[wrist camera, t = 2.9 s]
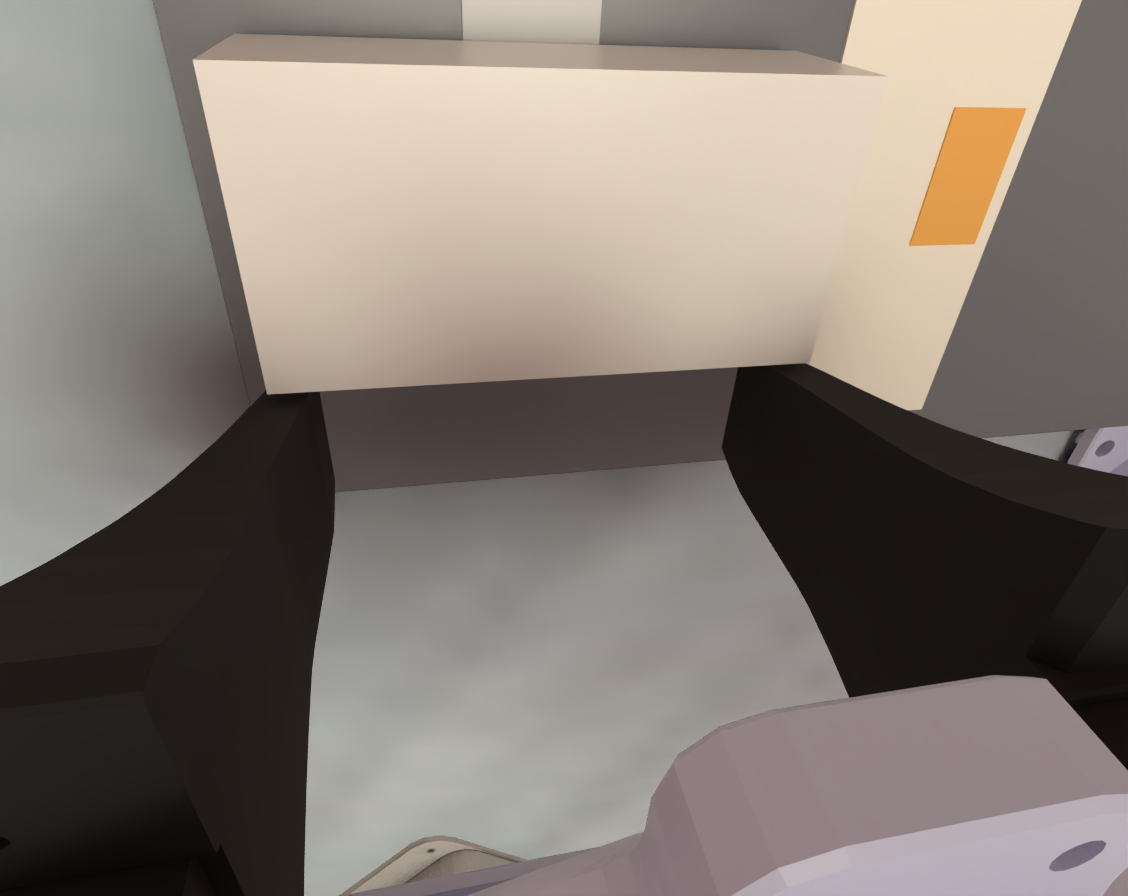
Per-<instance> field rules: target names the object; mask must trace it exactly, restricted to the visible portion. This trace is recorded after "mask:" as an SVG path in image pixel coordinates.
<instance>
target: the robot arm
mask: <svg viewBox="0 0 1128 896" xmlns="http://www.w3.org/2000/svg"><path fill="white" fill-rule="evenodd" d="M721 448H722V450H723V453H724V456H725V458H726V461H727V463H728V466H729V468H730V471H731V473H732V476H733V478H734V480H735V482H736V485H737V487H738V489H739V491H740V493H741V495H742V497H743V498H744V500H745V502H746V504H747V505H748V507H749V509H750V510H751V512H752V514H753V515H754V517H755V518H756V520H757V522H758V523H759V525H760V527H761V528H762V530H763V532H764V533H765V535H766V536H767V538H768V540H769V541H770V543H771V544H772V546H773V548H774V549H775V551H776V552H777V554H778V556H779V557H780V559H781V561H782V562H783V564H784V565H785V567H786V569H787V570H788V572H789V573H790V575H791V577H792V578H793V580H794V581H795V583H796V585H797V587H798V588H799V590H800V592H801V594H802V595H803V597H804V599H805V601H806V603H807V604H808V606H809V608H810V611H811V613H812V615H813V617H814V619H815V621H816V623H817V625H818V628H819V630H820V632H821V634H822V636H823V638H824V640H825V643H826V645H827V647H828V649H829V651H830V653H831V656H832V658H833V660H834V663H835V665H836V667H837V670H838V672H839V674H840V677H841V679H842V681H843V684H844V686H845V688H846V691H847V693H848V695H849V698H845V699H838V700H832V701H826V702H819V703H813V704H807V705H801V706H794V707H788V708H782V709H775V710H770V711H767V712H764V713H761V714H758V715H754V716H751V717H748V718H745V719H742V720H739V721H735V722H732V723H729V724H726V725H723V726H720V727H718V728H717V729H715V730H714V731H712V732H711V733H709V734H708V735H706V736H705V737H703V738H702V739H700V740H699V741H697V742H696V743H695V744H693V745H692V746H690V747H689V748H687V749H686V750H684V751H683V752H681V753H680V754H678V756H677V757H676V759H675V760H674V762H673V764H672V765H671V767H670V768H669V770H668V771H667V773H666V775H665V776H664V778H663V779H662V781H661V782H660V784H659V786H658V787H657V789H656V791H655V792H654V794H653V796H652V798H651V803H650V808H649V812H648V817H647V822H646V826H645V831H644V832H641V833H638V834H635V835H632V836H629V837H626V838H624V839H621V840H618V841H615V842H613V843H610V844H607V845H604V846H602V847H597V848H592V849H586V850H581V851H576V852H570V853H565V854H560V855H554V856H549V857H544V858H538V859H533V860H528V861H522V862H517V863H512V864H506V865H501V866H496V867H490V868H485V869H480V870H474V871H469V872H464V873H458V874H453V875H448V876H442V877H437V878H432V879H426V880H421V881H416V882H410V883H405V884H400V885H394V886H389V887H384V888H378V889H373V890H368V891H362V892H357V893H352V894H346V895H341V896H1128V426H1119V427H1107V428H1095V429H1085V431H1084V433H1083V435H1082V437H1081V438H1080V440H1079V442H1078V444H1077V446H1076V447H1075V449H1074V451H1073V453H1072V455H1071V456H1070V458H1069V460H1068V462H1067V463H1063V462H1060V461H1056V460H1052V459H1048V458H1045V457H1041V456H1037V455H1034V454H1030V453H1026V452H1022V451H1019V450H1016V449H1012V448H1009V447H1006V446H1002V445H999V444H996V443H993V442H990V441H987V440H984V439H981V438H978V437H975V436H972V435H969V434H966V433H964V432H961V431H958V430H955V429H952V428H950V427H947V426H944V425H942V424H939V423H936V422H934V421H931V420H929V419H927V418H924V417H922V416H920V415H917V414H915V413H912V412H910V411H908V410H905V409H903V408H901V407H898V406H896V405H894V404H892V403H889V402H887V401H885V400H883V399H880V398H878V397H876V396H874V395H872V394H870V393H868V392H865V391H863V390H861V389H859V388H857V387H855V386H853V385H851V384H849V383H847V382H844V381H842V380H840V379H838V378H836V377H834V376H832V375H830V374H828V373H826V372H824V371H821V370H819V369H817V368H815V367H813V366H811V365H809V364H806V363H800V364H783V365H765V366H748V367H738V370H737V375H736V380H735V384H734V389H733V394H732V399H731V404H730V408H729V413H728V418H727V423H726V428H725V433H724V437H723V442H722V447H721ZM334 511H335V476H334V471H333V465H332V459H331V454H330V448H329V442H328V437H327V431H326V426H325V420H324V414H323V409H322V403H321V397H320V392H302V393H285V394H268V395H267V392H266V390H265V391H264V392H263V393H262V395H261V396H260V397H259V398H258V399H257V400H256V401H255V402H254V403H253V404H252V405H251V406H250V407H249V408H248V409H247V410H246V411H245V412H244V413H243V414H242V415H241V417H240V418H239V419H238V420H237V421H236V422H235V423H234V424H233V425H232V426H231V427H230V428H229V429H228V430H227V431H226V432H225V433H224V434H223V435H222V436H221V437H220V438H219V439H218V440H217V441H216V442H215V443H213V444H212V445H211V446H210V447H209V448H208V449H207V450H206V451H204V452H203V453H202V454H201V455H200V456H199V457H198V458H197V459H195V460H194V461H193V462H192V463H191V464H190V465H189V466H187V467H186V468H185V469H184V470H183V471H182V472H181V473H180V474H178V475H177V476H176V477H175V478H174V479H173V480H171V481H170V482H169V483H168V484H166V485H165V486H164V487H162V488H161V489H160V490H159V491H157V492H156V493H155V494H153V495H152V496H151V497H149V498H148V499H147V500H145V501H144V502H142V503H141V504H139V505H138V506H137V507H135V508H134V509H132V510H131V511H130V512H128V513H127V514H125V515H124V516H123V517H121V518H119V519H118V520H116V521H115V522H113V523H112V524H110V525H109V526H107V527H105V528H104V529H102V530H100V531H99V532H97V533H95V534H94V535H92V536H90V537H89V538H87V539H85V540H84V541H82V542H80V543H79V544H77V545H75V546H74V547H72V548H70V549H69V550H67V551H65V552H64V553H62V554H60V555H59V556H57V557H55V558H54V559H52V560H50V561H48V562H47V563H45V564H43V565H41V566H39V567H37V568H35V569H33V570H31V571H29V572H28V573H26V574H24V575H22V576H20V577H18V578H16V579H14V580H12V581H10V582H8V583H6V584H4V585H2V586H0V896H304V855H305V818H306V783H307V759H308V734H309V713H310V695H311V676H312V665H313V656H314V648H315V641H316V635H317V629H318V623H319V617H320V611H321V606H322V600H323V594H324V588H325V582H326V576H327V570H328V564H329V558H330V552H331V546H332V539H333V533H334Z"/></svg>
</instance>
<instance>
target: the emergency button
mask: <svg viewBox="0 0 1128 896" xmlns="http://www.w3.org/2000/svg"><path fill="white" fill-rule="evenodd" d="M522 861H528V860H525V859H522V858H519V857H516V856H512V855H509V854H506V853H503V852H499V851H496V850H493V849H490V848H486V847H483V846H480V845H477V844H473V843H470V842H467V841H464V840H461V839H457V838H454V837H446V836H434V837H426V838H422V839H420V840H418V841H416V842H414V843H411V844H410V845H409V846H407V847H406V848H404V849H403V850H402V851H400V852H399V853H398V854H396V855H395V856H393V857H392V858H391V859H389V860H388V861H387V862H385V863H384V864H382V865H381V866H380V867H378V868H377V869H376V870H374V871H373V872H371V873H370V874H369V875H367V876H366V877H365V878H363V879H362V880H360V881H359V882H358V883H356V884H355V885H354V886H352V887H351V888H349V889H348V890H347V891H345V892H344V893H342V894H341V895H346V894H352V893H357V892H362V891H368V890H373V889H378V888H384V887H389V886H394V885H400V884H405V883H410V882H416V881H421V880H426V879H432V878H437V877H442V876H448V875H453V874H458V873H464V872H469V871H474V870H480V869H485V868H490V867H496V866H501V865H506V864H512V863H517V862H522ZM341 895H340V896H341Z"/></svg>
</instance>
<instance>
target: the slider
mask: <svg viewBox="0 0 1128 896" xmlns="http://www.w3.org/2000/svg"><path fill="white" fill-rule="evenodd" d="M193 64H194V68H195V73H196V77H197V82H198V86H199V91H200V95H201V100H202V104H203V109H204V113H205V118H206V122H207V127H208V131H209V136H210V140H211V145H212V149H213V154H214V158H215V163H216V167H217V172H218V176H219V181H220V185H221V190H222V194H223V199H224V203H225V208H226V212H227V217H228V221H229V226H230V230H231V235H232V239H233V244H234V248H235V253H236V257H237V261H238V266H239V270H240V275H241V279H242V284H243V288H244V293H245V297H246V302H247V306H248V311H249V315H250V320H251V324H252V329H253V333H254V338H255V342H256V347H257V351H258V356H259V360H260V365H261V369H262V374H263V378H264V383H265V387H266V392H267V395H268V394H285V393H302V392H319V391H336V390H354V389H371V388H388V387H405V386H422V385H439V384H457V383H474V382H491V381H508V380H525V379H542V378H560V377H577V376H594V375H611V374H628V373H645V372H663V371H680V370H697V369H714V368H731V367H748V366H765V365H783V364H800V363H810V361H811V357H812V353H813V350H814V346H815V342H816V339H817V335H818V332H819V328H820V324H821V321H822V317H823V313H824V310H825V306H826V302H827V299H828V295H829V291H830V288H831V284H832V281H833V277H834V273H835V270H836V266H837V262H838V259H839V255H840V251H841V248H842V244H843V240H844V237H845V233H846V230H847V226H848V222H849V219H850V215H851V211H852V208H853V204H854V200H855V197H856V193H857V189H858V186H859V182H860V179H861V175H862V171H863V168H864V164H865V160H866V157H867V153H868V149H869V146H870V142H871V138H872V135H873V131H874V128H875V124H876V120H877V117H878V113H879V109H880V106H881V102H882V98H883V95H884V91H885V87H886V84H887V80H888V77H889V76H885V75H882V74H878V73H875V72H871V71H867V70H864V69H860V68H857V67H853V66H849V65H846V64H842V63H839V62H835V61H831V60H828V59H824V58H821V57H817V56H813V55H810V54H806V53H803V52H799V51H787V50H755V49H722V48H690V47H657V46H625V45H592V44H559V43H527V42H494V41H462V40H429V39H397V38H364V37H331V36H299V35H266V34H233V35H231V36H230V37H228V38H226V39H225V40H223V41H222V42H220V43H218V44H217V45H215V46H214V47H212V48H210V49H209V50H207V51H206V52H204V53H202V54H201V55H199V56H198V57H196V58H194V59H193Z"/></svg>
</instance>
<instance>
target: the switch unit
mask: <svg viewBox="0 0 1128 896" xmlns="http://www.w3.org/2000/svg"><path fill="white" fill-rule="evenodd" d="M153 5H154V9H155V13H156V17H157V21H158V25H159V29H160V34H161V38H162V42H163V46H164V50H165V54H166V58H167V63H168V67H169V71H170V75H171V79H172V83H173V88H174V92H175V96H176V100H177V104H178V108H179V112H180V117H181V121H182V125H183V129H184V133H185V137H186V141H187V146H188V150H189V154H190V158H191V162H192V166H193V170H194V175H195V179H196V183H197V187H198V191H199V195H200V200H201V204H202V208H203V212H204V216H205V220H206V224H207V229H208V233H209V237H210V241H211V245H212V249H213V253H214V258H215V262H216V266H217V270H218V274H219V278H220V283H221V287H222V291H223V295H224V299H225V303H226V307H227V312H228V316H229V320H230V324H231V328H232V332H233V336H234V341H235V345H236V349H237V353H238V357H239V361H240V366H241V370H242V374H243V378H244V382H245V386H246V390H247V395H248V399H249V403H250V406H251V405H252V404H253V403H254V402H255V401H256V400H257V399H258V398H259V397H260V396H261V395H262V393H263V392H264V391H265V390H266V387H265V383H264V378H263V374H262V369H261V365H260V360H259V356H258V351H257V347H256V342H255V338H254V333H253V329H252V324H251V320H250V315H249V311H248V306H247V302H246V297H245V293H244V288H243V284H242V279H241V275H240V270H239V266H238V261H237V257H236V253H235V248H234V244H233V239H232V235H231V230H230V226H229V221H228V217H227V212H226V208H225V203H224V199H223V194H222V190H221V185H220V181H219V176H218V172H217V167H216V163H215V158H214V154H213V149H212V145H211V140H210V136H209V131H208V127H207V122H206V118H205V113H204V109H203V104H202V100H201V95H200V91H199V86H198V82H197V77H196V73H195V68H194V64H193V59H194V58H196V57H198V56H199V55H201V54H202V53H204V52H206V51H207V50H209V49H210V48H212V47H214V46H215V45H217V44H218V43H220V42H222V41H223V40H225V39H226V38H228V37H230V36H231V35H233V34H266V35H299V36H331V37H364V38H397V39H429V40H462V41H494V42H527V43H559V44H592V45H625V46H657V47H690V48H722V49H755V50H787V51H799V52H803V53H806V54H810V55H813V56H817V57H821V58H824V59H828V60H831V61H835V62H839V63H842V64H846V65H849V66H853V67H857V68H860V69H864V70H867V71H871V72H875V73H878V74H882V75H885V76H889V77H888V80H887V84H886V87H885V91H884V95H883V98H882V102H881V106H880V109H879V113H878V117H877V120H876V124H875V128H874V131H873V135H872V138H871V142H870V146H869V149H868V153H867V157H866V160H865V164H864V168H863V171H862V175H861V179H860V182H859V186H858V189H857V193H856V197H855V200H854V204H853V208H852V211H851V215H850V219H849V222H848V226H847V230H846V233H845V237H844V240H843V244H842V248H841V251H840V255H839V259H838V262H837V266H836V270H835V273H834V277H833V281H832V284H831V288H830V291H829V295H828V299H827V302H826V306H825V310H824V313H823V317H822V321H821V324H820V328H819V332H818V335H817V339H816V342H815V346H814V350H813V353H812V357H811V361H810V363H806V364H809V365H811V366H813V367H815V368H817V369H819V370H821V371H824V372H826V373H828V374H830V375H832V376H834V377H836V378H838V379H840V380H842V381H844V382H847V383H849V384H851V385H853V386H855V387H857V388H859V389H861V390H863V391H865V392H868V393H870V394H872V395H874V396H876V397H878V398H880V399H883V400H885V401H887V402H889V403H892V404H894V405H896V406H898V407H901V408H903V409H905V410H908V411H910V412H912V413H915V414H917V415H920V416H922V417H924V418H927V419H929V420H931V421H934V422H936V423H939V424H942V425H944V426H947V427H950V428H952V429H955V430H958V431H961V432H964V433H966V434H969V435H972V436H975V437H978V438H988V437H1000V436H1012V435H1024V434H1036V433H1048V432H1060V431H1072V430H1084V429H1095V428H1107V427H1119V426H1128V0H153ZM737 370H738V367H731V368H714V369H697V370H680V371H663V372H645V373H628V374H611V375H594V376H577V377H560V378H542V379H525V380H508V381H491V382H474V383H457V384H439V385H422V386H405V387H388V388H371V389H354V390H336V391H319V392H320V397H321V403H322V409H323V414H324V420H325V426H326V431H327V437H328V442H329V448H330V454H331V459H332V465H333V471H334V476H335V492H344V491H356V490H368V489H380V488H392V487H404V486H416V485H427V484H439V483H451V482H463V481H475V480H487V479H499V478H511V477H523V476H535V475H547V474H559V473H571V472H583V471H594V470H606V469H618V468H630V467H642V466H654V465H666V464H678V463H690V462H702V461H714V460H726V458H725V456H724V453H723V450H722V448H721V447H722V442H723V437H724V433H725V428H726V423H727V418H728V413H729V408H730V404H731V399H732V394H733V389H734V384H735V380H736V375H737Z"/></svg>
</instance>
